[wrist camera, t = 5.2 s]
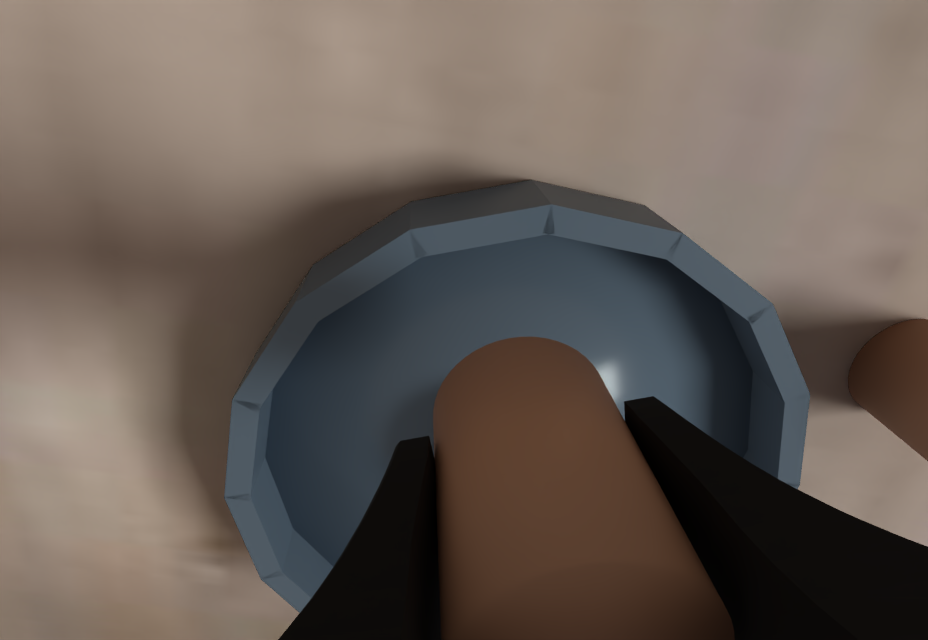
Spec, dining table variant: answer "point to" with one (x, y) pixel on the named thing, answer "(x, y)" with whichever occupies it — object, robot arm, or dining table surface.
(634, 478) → the tan wooden cylinder
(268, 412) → the ring tray
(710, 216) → the dining table surface
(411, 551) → the robot arm
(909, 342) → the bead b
